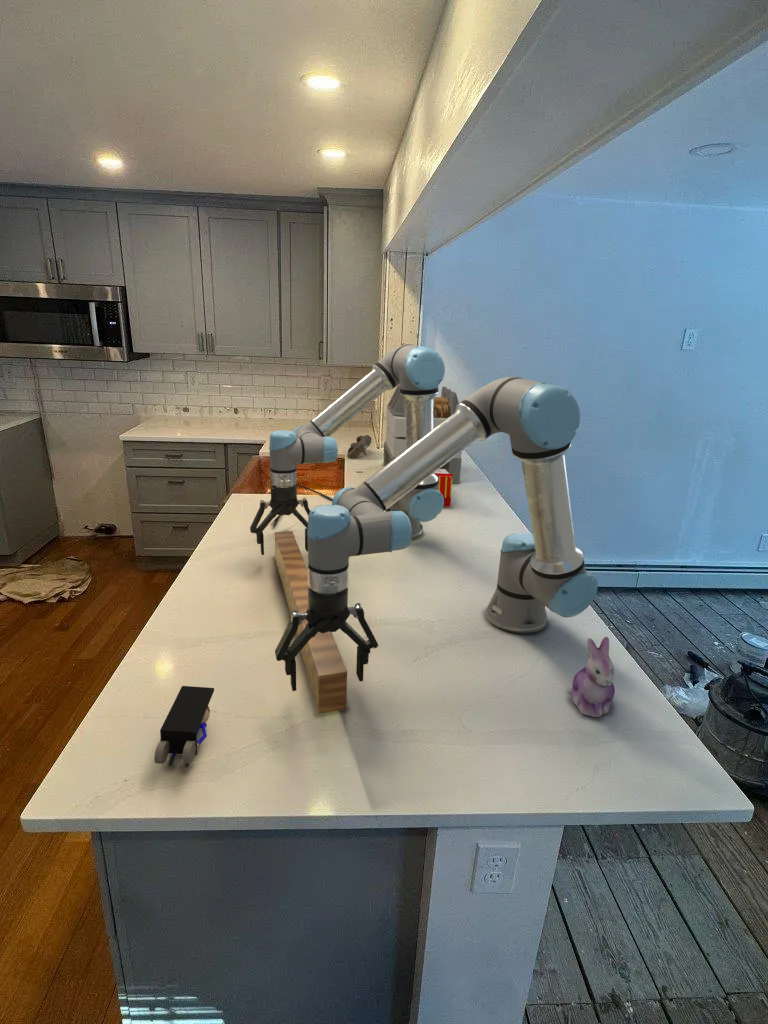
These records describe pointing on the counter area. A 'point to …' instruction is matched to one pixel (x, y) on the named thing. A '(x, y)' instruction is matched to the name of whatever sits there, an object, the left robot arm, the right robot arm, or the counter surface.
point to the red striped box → (445, 485)
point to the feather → (275, 521)
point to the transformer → (397, 427)
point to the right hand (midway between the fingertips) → (327, 682)
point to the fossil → (359, 446)
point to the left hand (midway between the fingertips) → (284, 551)
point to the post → (322, 648)
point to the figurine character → (184, 725)
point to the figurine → (594, 681)
